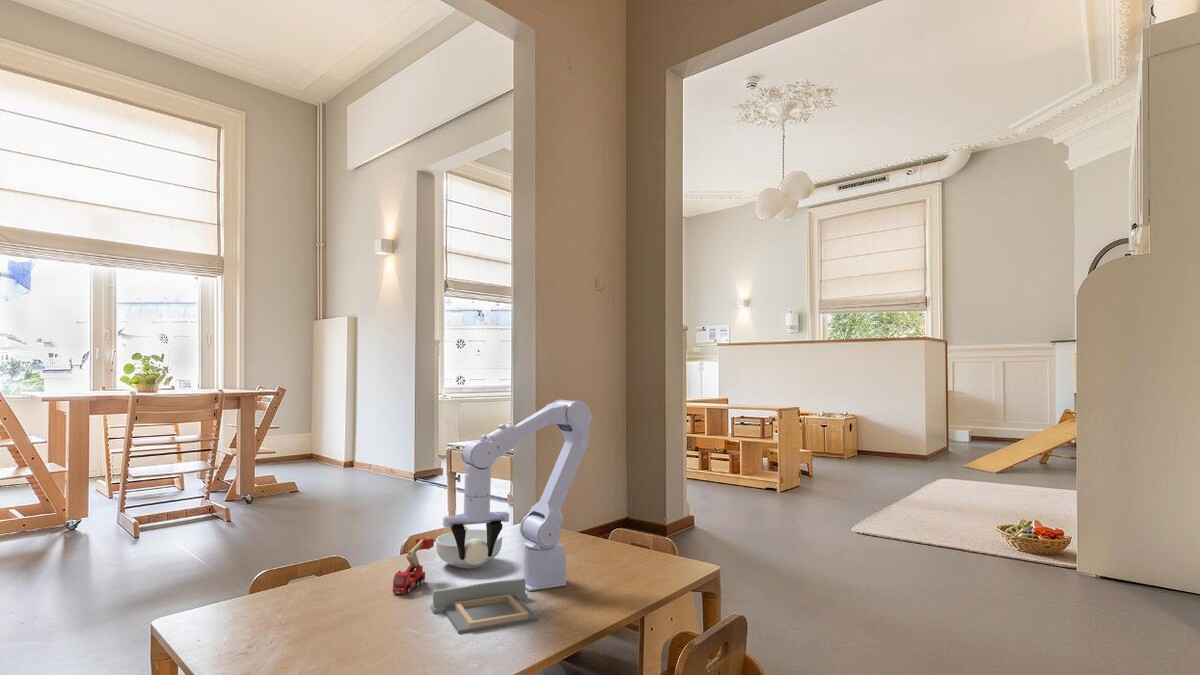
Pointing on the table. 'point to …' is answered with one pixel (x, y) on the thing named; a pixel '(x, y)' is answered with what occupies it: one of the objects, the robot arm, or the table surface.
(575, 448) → the robot arm
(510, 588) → the grey barrier bar
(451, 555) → the cereal bowl
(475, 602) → the resting mat
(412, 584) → the toy fire truck
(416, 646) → the table surface
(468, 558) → the ball
